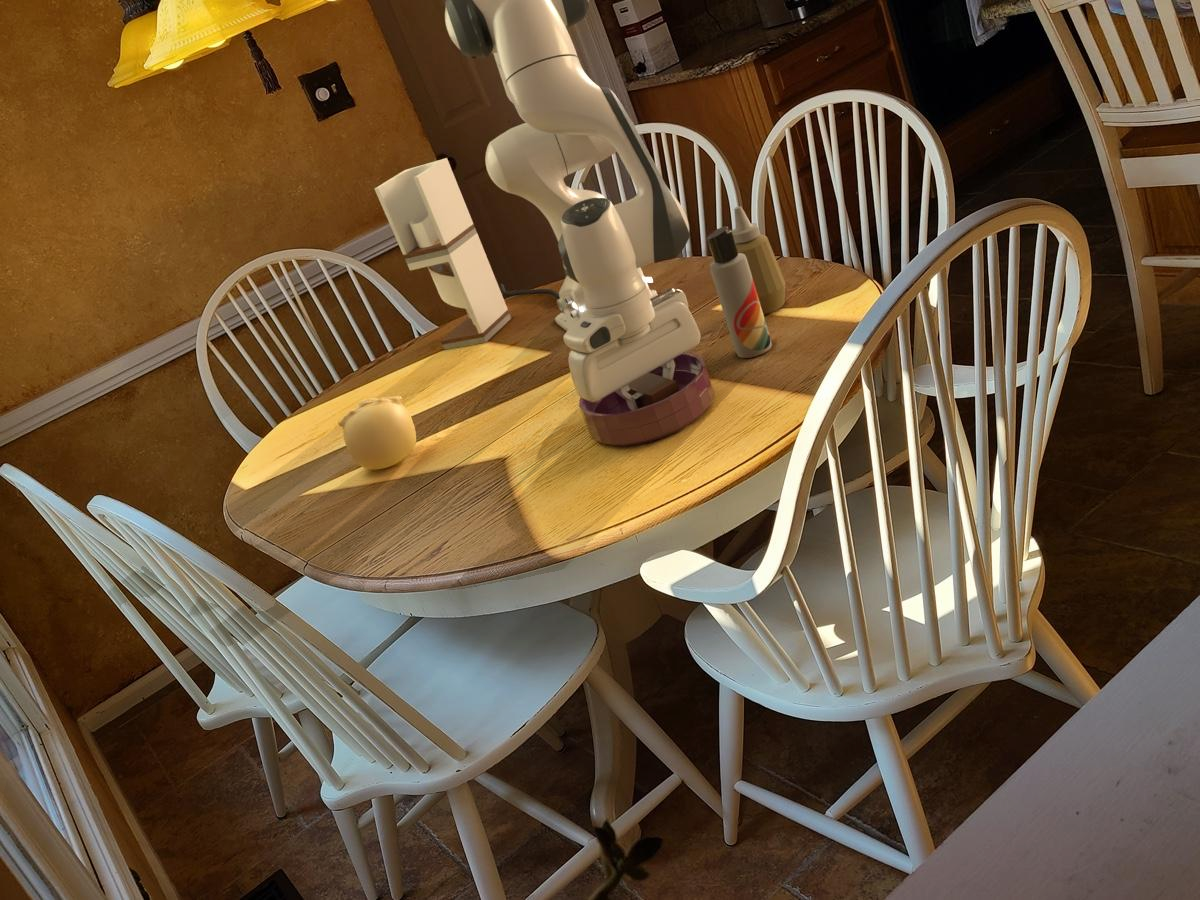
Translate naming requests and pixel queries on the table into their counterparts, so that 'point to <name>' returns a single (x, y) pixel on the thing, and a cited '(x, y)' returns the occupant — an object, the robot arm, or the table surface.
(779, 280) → the squeeze bottle
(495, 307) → the cream shelf stand
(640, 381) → the dark chocolate square
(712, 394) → the bowl
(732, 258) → the lotion bottle
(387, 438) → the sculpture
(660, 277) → the table surface
